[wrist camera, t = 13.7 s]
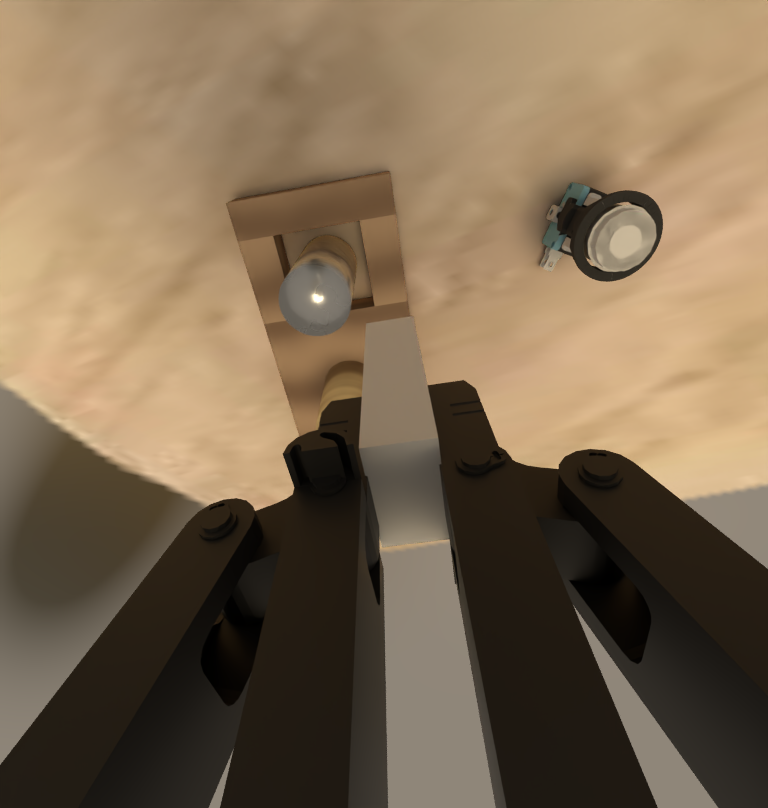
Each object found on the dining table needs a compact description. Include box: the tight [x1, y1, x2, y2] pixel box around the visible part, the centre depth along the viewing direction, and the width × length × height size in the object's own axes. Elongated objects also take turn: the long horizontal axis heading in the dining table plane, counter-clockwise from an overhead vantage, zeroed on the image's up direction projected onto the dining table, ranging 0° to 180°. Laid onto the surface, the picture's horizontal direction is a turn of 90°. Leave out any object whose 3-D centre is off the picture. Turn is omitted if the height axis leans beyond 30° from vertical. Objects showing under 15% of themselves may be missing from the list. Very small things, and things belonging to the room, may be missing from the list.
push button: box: [540, 182, 663, 282], centre depth 31 cm, size 7×5×10 cm
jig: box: [226, 171, 410, 436], centre depth 35 cm, size 22×12×10 cm, turn 9°
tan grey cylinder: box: [278, 235, 357, 336], centre depth 32 cm, size 5×5×10 cm
